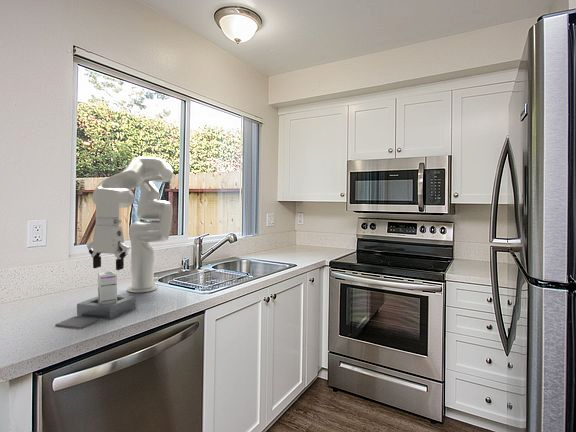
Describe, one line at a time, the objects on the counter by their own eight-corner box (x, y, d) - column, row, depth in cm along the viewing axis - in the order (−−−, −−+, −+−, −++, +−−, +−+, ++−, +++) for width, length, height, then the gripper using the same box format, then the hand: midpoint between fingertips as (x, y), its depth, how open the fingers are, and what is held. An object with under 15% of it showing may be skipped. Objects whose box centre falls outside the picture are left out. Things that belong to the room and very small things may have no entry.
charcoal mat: (75, 317, 116) (75, 316, 116) (100, 320, 114) (100, 318, 114) (55, 325, 109) (55, 324, 109) (81, 329, 107) (81, 327, 107)
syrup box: (117, 312, 122) (117, 273, 122) (99, 315, 119) (99, 275, 118) (115, 308, 127) (115, 270, 127) (97, 311, 124) (97, 272, 123)
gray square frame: (105, 305, 131) (105, 293, 131) (135, 308, 128) (135, 296, 128) (77, 316, 118) (76, 303, 118) (109, 320, 115) (109, 307, 115)
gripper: (135, 222, 124) (135, 267, 125) (95, 220, 127) (96, 264, 129) (120, 224, 116) (121, 272, 117) (79, 222, 120) (80, 269, 121)
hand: (108, 268), depth 123 cm, fingers open, 9 cm apart
